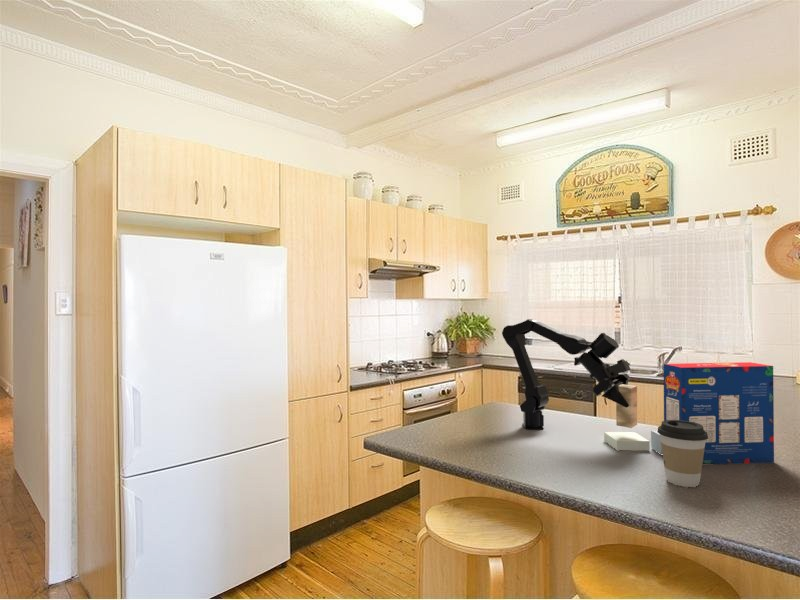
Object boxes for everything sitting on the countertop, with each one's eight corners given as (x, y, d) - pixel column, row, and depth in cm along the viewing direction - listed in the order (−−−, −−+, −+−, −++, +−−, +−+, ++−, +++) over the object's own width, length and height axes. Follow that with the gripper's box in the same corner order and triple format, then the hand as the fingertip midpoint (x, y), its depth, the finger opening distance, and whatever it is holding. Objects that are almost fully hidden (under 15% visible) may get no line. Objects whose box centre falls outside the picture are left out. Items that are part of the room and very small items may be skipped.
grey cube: (661, 455, 141) (661, 435, 141) (651, 449, 147) (651, 430, 147) (681, 455, 141) (681, 436, 141) (670, 449, 147) (670, 430, 147)
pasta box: (751, 453, 143) (750, 362, 143) (774, 462, 135) (773, 365, 135) (664, 456, 141) (663, 363, 141) (682, 465, 133) (681, 367, 133)
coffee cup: (662, 471, 128) (661, 416, 128) (711, 480, 121) (710, 423, 121) (653, 483, 120) (652, 425, 120) (706, 495, 112) (705, 432, 112)
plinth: (617, 452, 146) (617, 441, 146) (604, 442, 156) (604, 432, 156) (649, 452, 145) (649, 441, 145) (634, 442, 155) (634, 432, 155)
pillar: (616, 425, 150) (616, 386, 150) (622, 422, 154) (622, 384, 154) (631, 428, 146) (630, 388, 147) (637, 424, 150) (636, 385, 150)
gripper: (602, 354, 146) (640, 394, 138) (623, 349, 160) (659, 385, 152) (578, 376, 152) (613, 416, 144) (600, 370, 165) (633, 406, 157)
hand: (631, 405), depth 149 cm, fingers closed on pillar, 5 cm apart
